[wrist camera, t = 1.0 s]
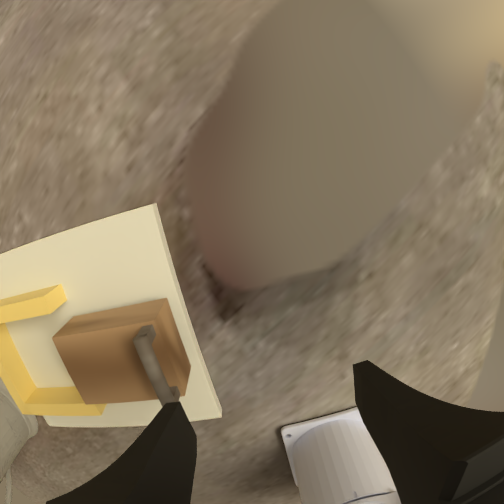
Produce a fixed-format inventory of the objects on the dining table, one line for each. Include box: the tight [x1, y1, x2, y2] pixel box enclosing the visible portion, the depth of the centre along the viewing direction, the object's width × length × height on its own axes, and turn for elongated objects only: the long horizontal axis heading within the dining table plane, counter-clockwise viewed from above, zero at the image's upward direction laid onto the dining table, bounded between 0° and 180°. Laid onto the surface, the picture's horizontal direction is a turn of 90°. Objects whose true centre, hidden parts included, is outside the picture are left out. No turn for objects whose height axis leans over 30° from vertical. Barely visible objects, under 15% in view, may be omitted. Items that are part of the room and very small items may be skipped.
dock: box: [0, 203, 222, 427], centre depth 19 cm, size 16×17×3 cm
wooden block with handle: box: [52, 298, 191, 407], centre depth 17 cm, size 5×7×6 cm
